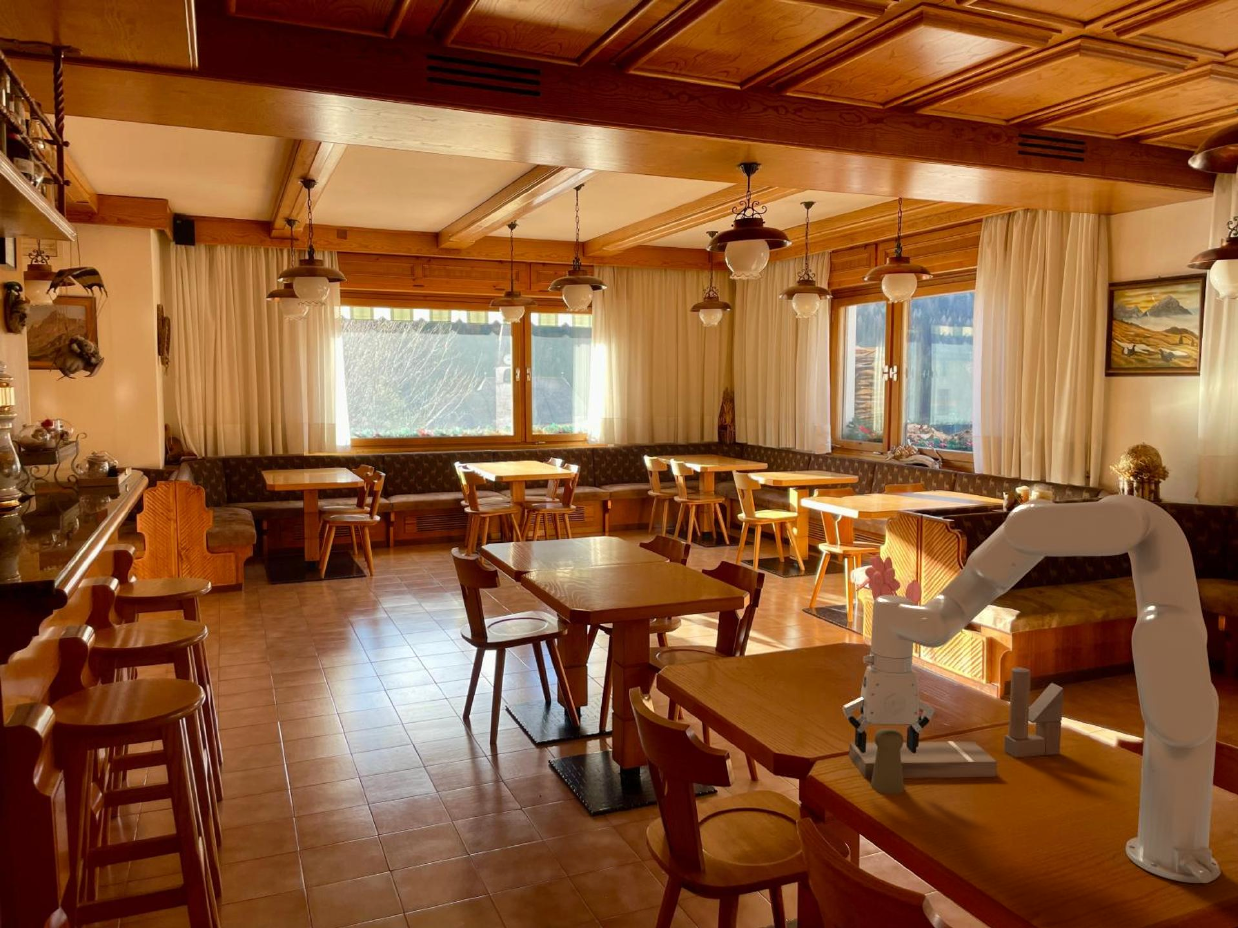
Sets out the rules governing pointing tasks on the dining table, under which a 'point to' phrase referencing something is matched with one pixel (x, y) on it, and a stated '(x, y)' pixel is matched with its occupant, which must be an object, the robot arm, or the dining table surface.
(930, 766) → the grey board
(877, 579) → the pink wire flower
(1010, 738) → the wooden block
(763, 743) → the dining table surface
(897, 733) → the olive green peg figure
